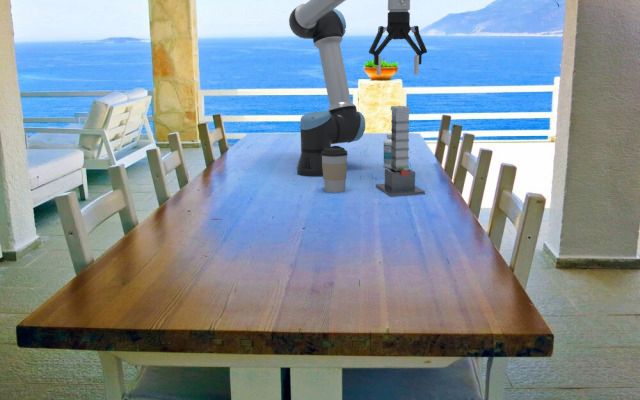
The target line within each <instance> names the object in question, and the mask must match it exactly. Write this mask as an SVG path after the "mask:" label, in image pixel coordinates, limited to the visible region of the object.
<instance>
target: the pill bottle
mask: <svg viewBox="0 0 640 400" xmlns="http://www.w3.org/2000/svg"><path fill="white" fill-rule="evenodd" d="M391 138H392V132H390V133H389V132H388V133H387V134H386V139H384V140H383V167H384V168H385V169H391V164H392V158H391V155H392V149H391V146H392V140H391Z"/></svg>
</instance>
